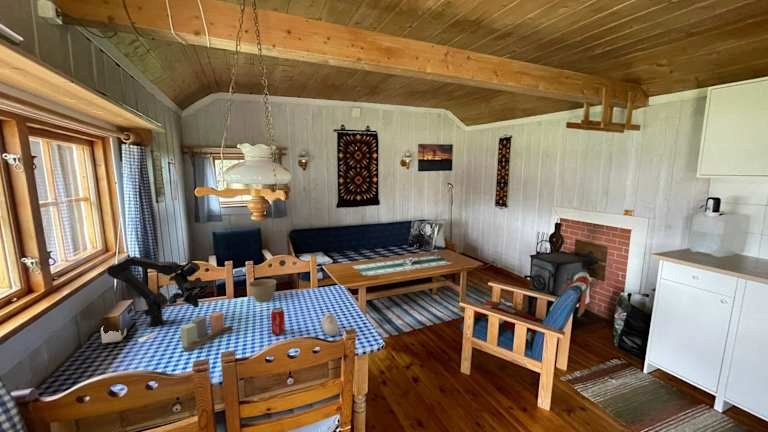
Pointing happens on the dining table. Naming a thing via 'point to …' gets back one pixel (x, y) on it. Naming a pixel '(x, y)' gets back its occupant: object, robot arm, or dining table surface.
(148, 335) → the tile
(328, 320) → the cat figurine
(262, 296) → the planter bowl
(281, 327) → the soda can
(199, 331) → the key grey
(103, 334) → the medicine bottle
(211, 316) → the key terracotta
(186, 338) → the key sage
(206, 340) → the key console
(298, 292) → the dining table surface
